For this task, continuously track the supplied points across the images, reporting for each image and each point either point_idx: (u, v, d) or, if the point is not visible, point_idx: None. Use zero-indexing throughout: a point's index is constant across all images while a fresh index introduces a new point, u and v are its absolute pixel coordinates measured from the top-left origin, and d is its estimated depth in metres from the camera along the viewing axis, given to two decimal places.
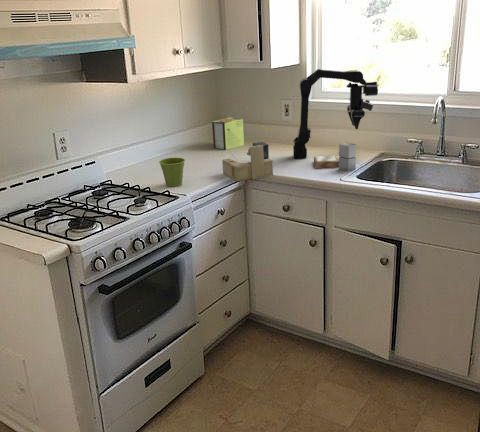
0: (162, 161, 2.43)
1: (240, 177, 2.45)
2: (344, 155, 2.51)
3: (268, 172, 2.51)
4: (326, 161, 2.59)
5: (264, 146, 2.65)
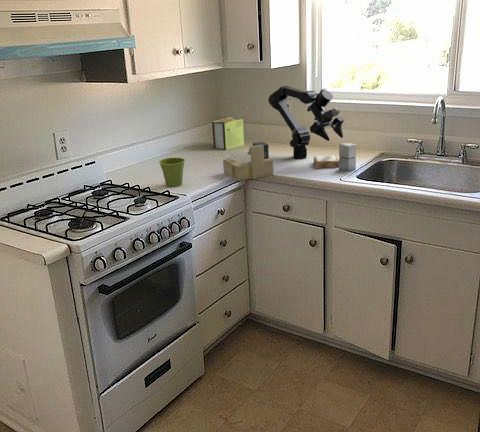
0: (162, 161, 2.43)
1: (240, 177, 2.45)
2: (344, 155, 2.51)
3: (269, 172, 2.51)
4: (326, 161, 2.59)
5: (264, 146, 2.65)
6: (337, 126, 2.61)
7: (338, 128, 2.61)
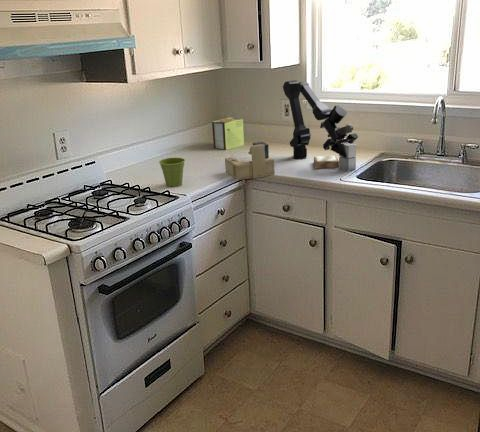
0: (162, 161, 2.43)
1: (241, 176, 2.46)
2: None
3: (269, 171, 2.52)
4: (326, 161, 2.59)
5: (264, 146, 2.65)
6: None
7: None
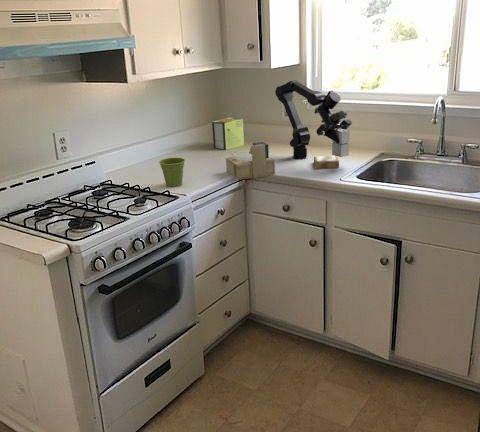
0: (162, 161, 2.43)
1: (241, 175, 2.47)
2: None
3: (270, 171, 2.52)
4: (326, 161, 2.59)
5: None
6: None
7: None
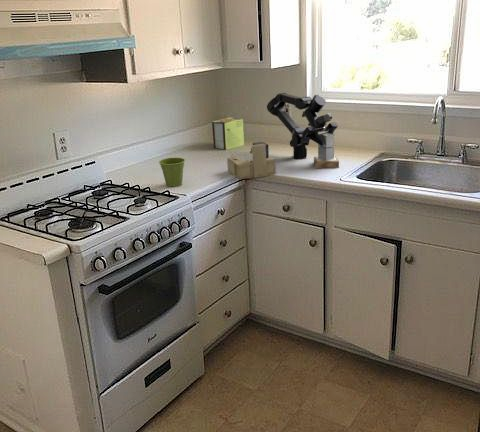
0: (162, 161, 2.43)
1: (242, 175, 2.48)
2: None
3: (271, 171, 2.52)
4: (326, 161, 2.59)
5: None
6: (329, 132, 2.63)
7: None
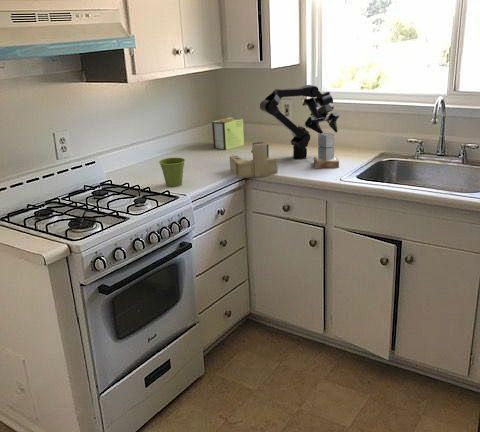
0: (162, 161, 2.43)
1: (243, 174, 2.49)
2: (322, 144, 2.59)
3: (272, 170, 2.53)
4: (326, 161, 2.59)
5: None
6: (332, 121, 2.73)
7: (333, 123, 2.72)
